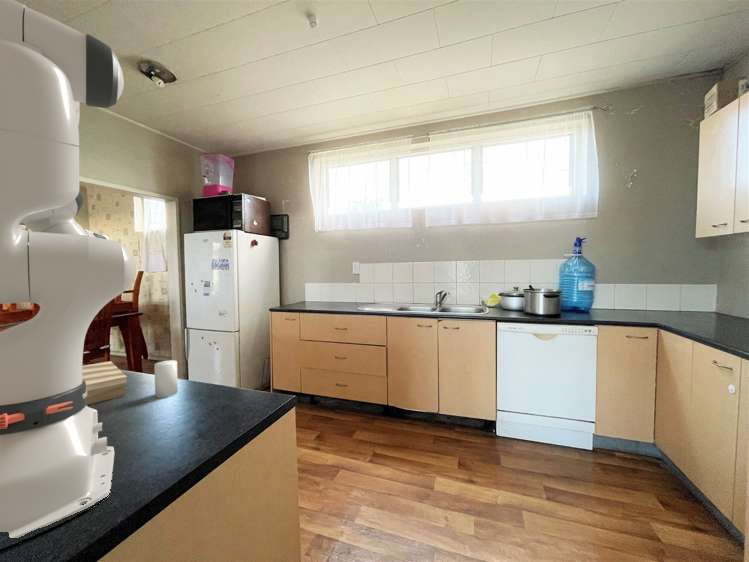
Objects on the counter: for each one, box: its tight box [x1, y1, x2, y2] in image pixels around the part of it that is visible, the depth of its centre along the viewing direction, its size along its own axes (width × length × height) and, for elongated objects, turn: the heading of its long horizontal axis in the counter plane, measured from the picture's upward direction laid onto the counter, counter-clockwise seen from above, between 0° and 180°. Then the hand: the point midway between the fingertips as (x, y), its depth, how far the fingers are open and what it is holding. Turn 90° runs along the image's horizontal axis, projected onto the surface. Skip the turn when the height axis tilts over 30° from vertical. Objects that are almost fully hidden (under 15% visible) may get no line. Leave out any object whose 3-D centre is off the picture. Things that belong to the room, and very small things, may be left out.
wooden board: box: [82, 360, 128, 406], centre depth 82 cm, size 22×14×5 cm, turn 50°
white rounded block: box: [154, 359, 179, 399], centre depth 81 cm, size 5×5×8 cm
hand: (105, 285), depth 79 cm, fingers open, 8 cm apart
